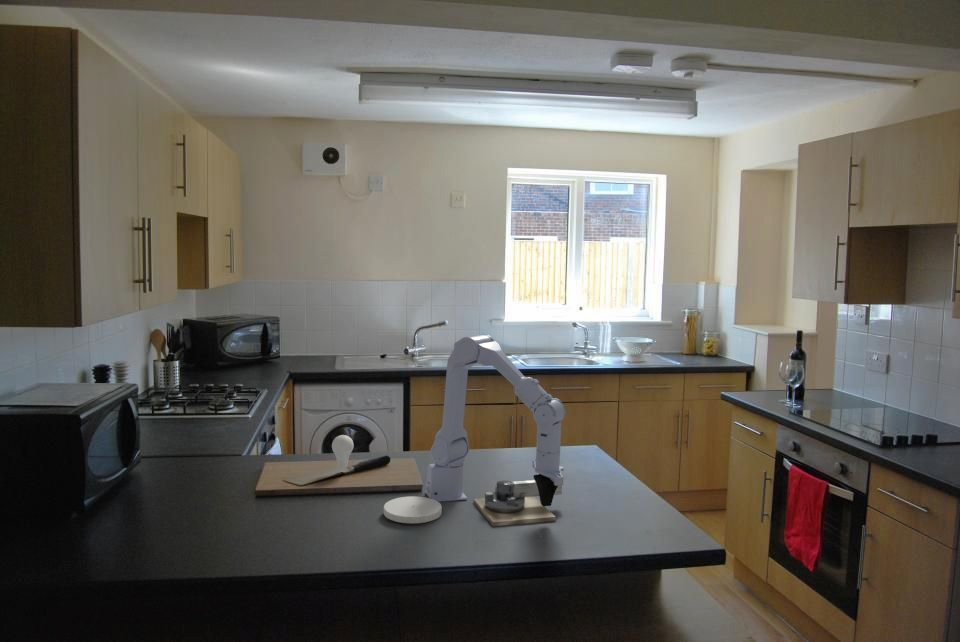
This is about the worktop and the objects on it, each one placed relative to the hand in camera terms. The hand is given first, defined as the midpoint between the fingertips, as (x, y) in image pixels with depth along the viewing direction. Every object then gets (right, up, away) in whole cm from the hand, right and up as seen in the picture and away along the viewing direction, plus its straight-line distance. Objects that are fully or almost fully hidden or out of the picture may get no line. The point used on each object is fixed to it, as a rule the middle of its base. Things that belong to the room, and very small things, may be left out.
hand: (546, 505), depth 170 cm
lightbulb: (-55, +1, +32) cm, 64 cm away
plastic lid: (-32, -3, +1) cm, 33 cm away
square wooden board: (-8, -3, +6) cm, 10 cm away
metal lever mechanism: (-5, -2, +8) cm, 9 cm away
